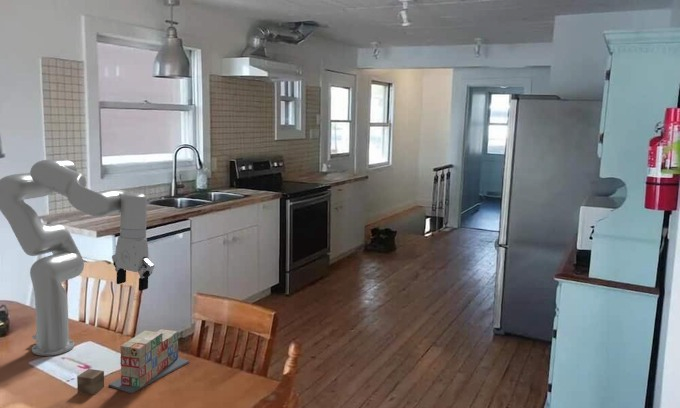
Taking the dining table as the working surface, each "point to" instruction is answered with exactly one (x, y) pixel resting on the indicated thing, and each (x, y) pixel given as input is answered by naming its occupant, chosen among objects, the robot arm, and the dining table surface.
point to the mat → (173, 366)
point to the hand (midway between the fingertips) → (132, 286)
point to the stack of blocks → (147, 356)
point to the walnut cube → (90, 381)
